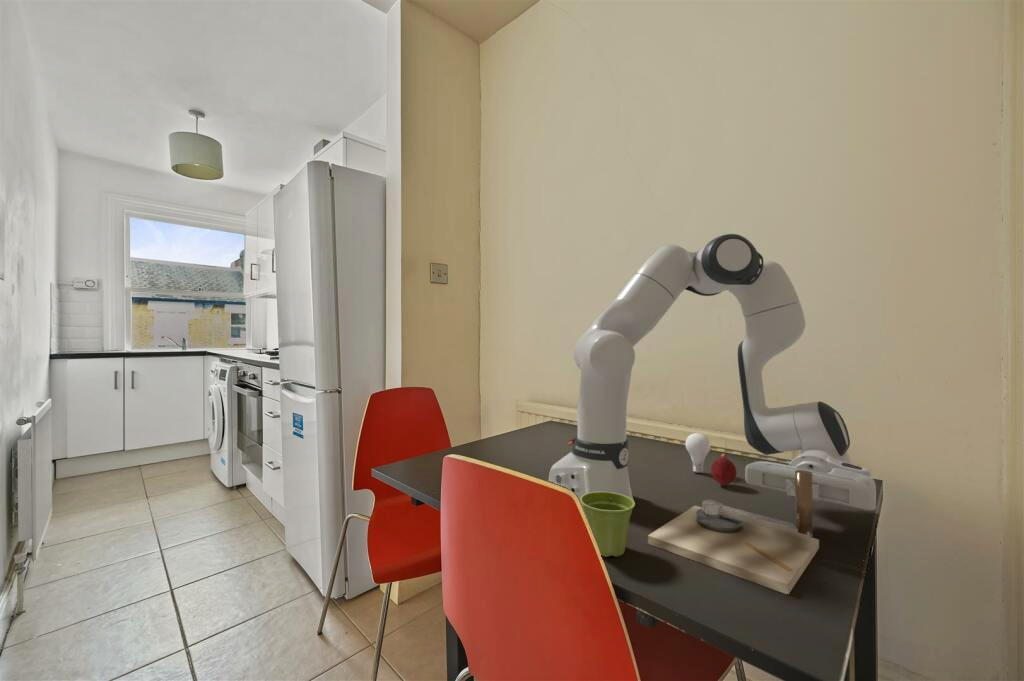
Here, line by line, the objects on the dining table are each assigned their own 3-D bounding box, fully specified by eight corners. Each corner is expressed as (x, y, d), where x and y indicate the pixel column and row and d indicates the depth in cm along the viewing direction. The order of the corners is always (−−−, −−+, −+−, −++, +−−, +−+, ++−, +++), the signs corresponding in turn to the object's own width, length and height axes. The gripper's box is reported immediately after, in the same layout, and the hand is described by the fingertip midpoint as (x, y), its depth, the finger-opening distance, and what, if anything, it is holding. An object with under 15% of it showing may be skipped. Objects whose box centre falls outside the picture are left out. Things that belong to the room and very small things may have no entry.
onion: (739, 490, 106) (739, 457, 106) (714, 489, 107) (714, 456, 107) (732, 482, 111) (732, 451, 111) (708, 481, 112) (708, 450, 112)
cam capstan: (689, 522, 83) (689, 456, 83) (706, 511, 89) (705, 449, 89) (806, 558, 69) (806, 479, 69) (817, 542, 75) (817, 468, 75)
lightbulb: (681, 469, 122) (681, 431, 122) (702, 469, 123) (702, 430, 123) (692, 477, 116) (692, 436, 116) (715, 476, 117) (715, 435, 117)
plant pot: (596, 532, 83) (596, 487, 83) (643, 547, 77) (643, 498, 77) (570, 551, 76) (570, 501, 76) (620, 569, 70) (620, 515, 70)
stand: (647, 543, 78) (647, 534, 78) (694, 512, 92) (694, 504, 92) (788, 594, 63) (788, 583, 63) (819, 548, 76) (819, 538, 76)
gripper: (756, 450, 93) (733, 463, 83) (881, 471, 78) (870, 489, 68) (756, 479, 93) (733, 496, 83) (881, 506, 78) (870, 529, 69)
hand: (796, 493), depth 76 cm, fingers closed
